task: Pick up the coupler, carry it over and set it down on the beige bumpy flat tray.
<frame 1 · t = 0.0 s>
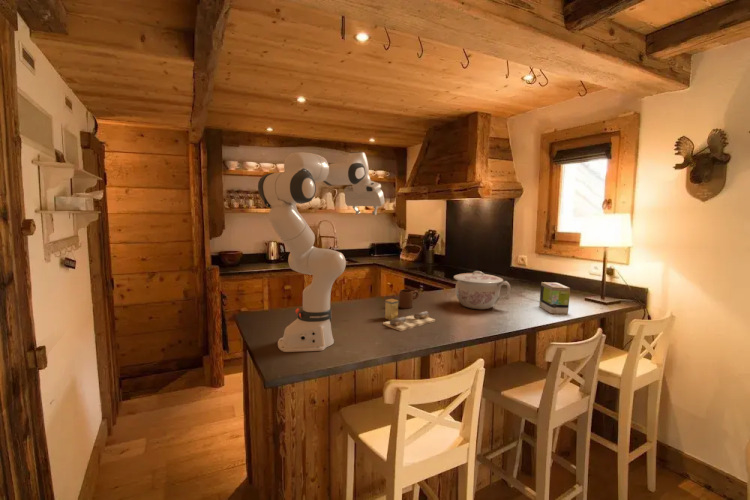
hand: (366, 214, 179), 52 cm above the table, tool tilted 20°, fingers open, 8 cm apart
coupler: (391, 318, 187), on the table
beige bumpy flat tray: (409, 322, 181), on the table
chamber pot: (476, 306, 213), on the table
mug: (409, 307, 210), on the table
tea box: (553, 310, 209), on the table
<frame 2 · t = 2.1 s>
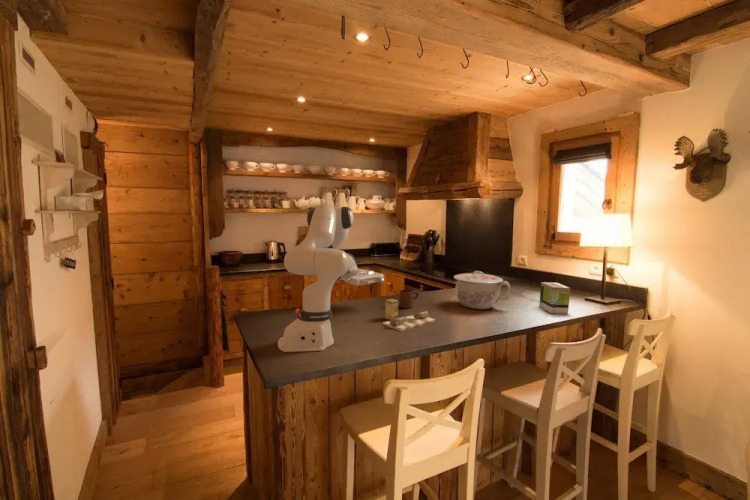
hand: (376, 281, 194), 17 cm above the table, tool horizontal, fingers open, 8 cm apart
nothing on the table moved.
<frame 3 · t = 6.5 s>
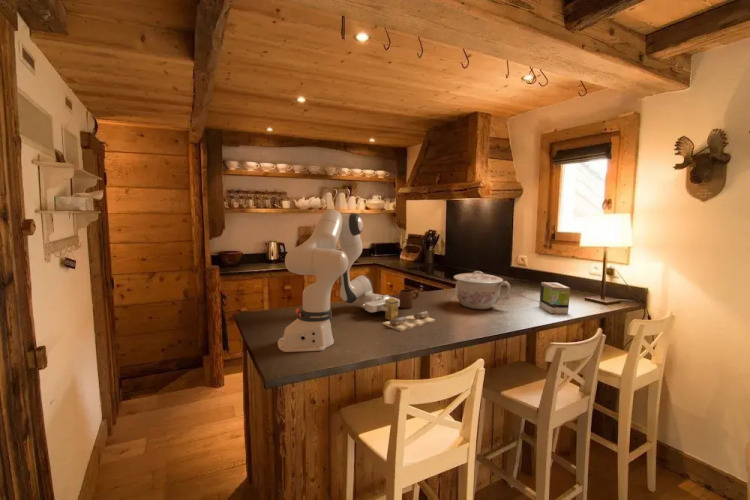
hand: (392, 308, 186), 6 cm above the table, tool horizontal, fingers closed on coupler, 4 cm apart
coupler: (391, 318, 187), on the table, touching gripper
everything else where it was.
when the fingers open (8 cm above the table, at t = 11.0 s): coupler drops 1 cm, resting on beige bumpy flat tray.
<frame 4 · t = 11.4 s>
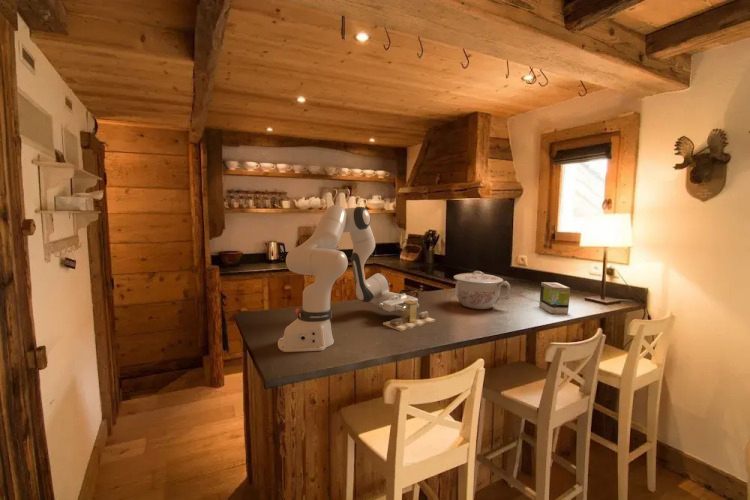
hand: (411, 307, 179), 8 cm above the table, tool horizontal, fingers open, 8 cm apart
coupler: (409, 320, 181), point 1 cm above the table, touching beige bumpy flat tray
everything else where it was.
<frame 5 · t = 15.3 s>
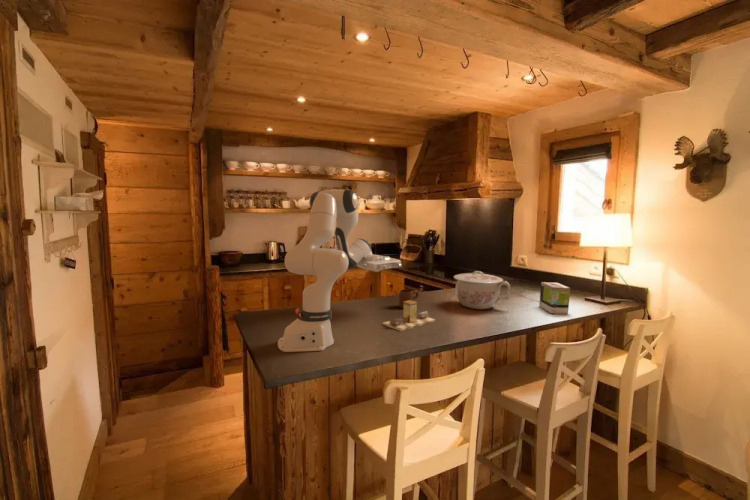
hand: (394, 266, 187), 26 cm above the table, tool horizontal, fingers open, 8 cm apart
nothing on the table moved.
at the end: coupler 0.1 cm off-centre on the beige bumpy flat tray, point 1.1 cm above the beige bumpy flat tray's base; coupler tilted 0°; the gripper is holding nothing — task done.
